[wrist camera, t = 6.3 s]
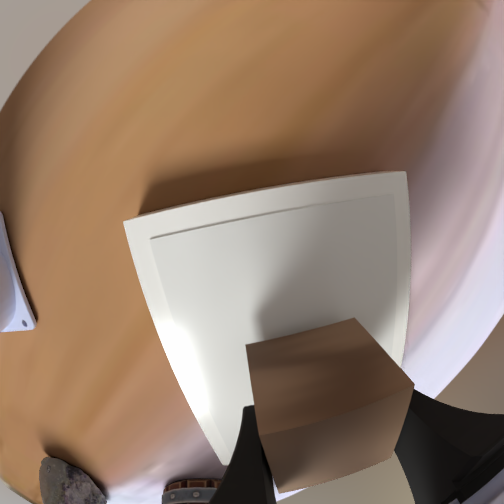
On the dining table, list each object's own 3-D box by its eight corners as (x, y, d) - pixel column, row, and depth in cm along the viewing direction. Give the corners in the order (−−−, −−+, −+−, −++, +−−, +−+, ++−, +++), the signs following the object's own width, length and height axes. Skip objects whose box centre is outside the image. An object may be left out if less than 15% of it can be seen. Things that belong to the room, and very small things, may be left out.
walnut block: (263, 416, 12) (278, 493, 8) (245, 344, 11) (259, 435, 6) (352, 392, 13) (390, 457, 8) (354, 317, 11) (414, 384, 7)
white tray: (222, 446, 17) (223, 466, 15) (137, 215, 12) (122, 221, 10) (378, 406, 18) (388, 422, 16) (384, 171, 13) (407, 171, 11)
